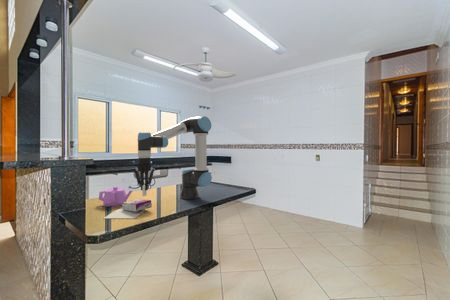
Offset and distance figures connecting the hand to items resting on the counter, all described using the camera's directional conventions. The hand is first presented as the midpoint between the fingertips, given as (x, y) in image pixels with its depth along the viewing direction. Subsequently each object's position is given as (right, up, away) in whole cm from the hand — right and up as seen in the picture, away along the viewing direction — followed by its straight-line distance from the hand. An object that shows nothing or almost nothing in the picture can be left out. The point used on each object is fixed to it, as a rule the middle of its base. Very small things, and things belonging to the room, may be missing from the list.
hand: (144, 195), depth 138 cm
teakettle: (-29, -11, +24) cm, 39 cm away
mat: (-12, -11, 0) cm, 16 cm away
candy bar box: (-1, -7, +2) cm, 7 cm away
